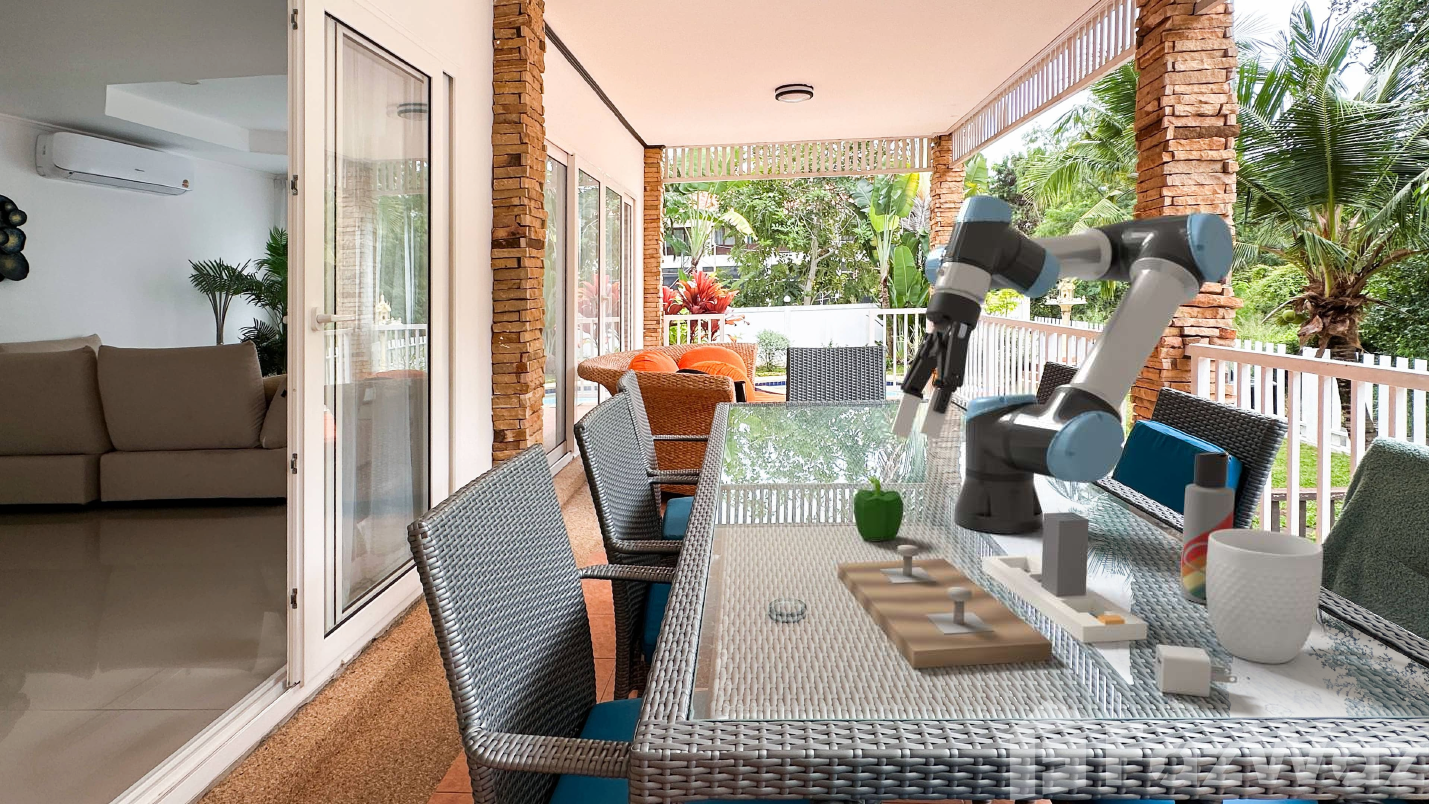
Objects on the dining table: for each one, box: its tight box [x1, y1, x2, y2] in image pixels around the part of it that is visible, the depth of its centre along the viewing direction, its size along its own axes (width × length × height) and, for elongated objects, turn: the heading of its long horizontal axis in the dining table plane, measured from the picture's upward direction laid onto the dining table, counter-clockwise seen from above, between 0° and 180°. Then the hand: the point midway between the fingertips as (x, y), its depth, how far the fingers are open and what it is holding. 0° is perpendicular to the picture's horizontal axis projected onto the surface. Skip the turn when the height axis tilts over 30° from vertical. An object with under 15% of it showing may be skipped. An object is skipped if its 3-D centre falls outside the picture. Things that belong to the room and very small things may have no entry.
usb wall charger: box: [1154, 644, 1238, 698], centre depth 90 cm, size 4×7×4 cm, turn 73°
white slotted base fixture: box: [981, 511, 1148, 644], centre depth 116 cm, size 28×8×12 cm, turn 7°
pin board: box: [837, 544, 1053, 669], centre depth 112 cm, size 32×16×6 cm, turn 7°
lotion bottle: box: [1179, 451, 1236, 605], centre depth 116 cm, size 6×6×20 cm
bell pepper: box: [853, 477, 904, 542], centre depth 147 cm, size 8×8×10 cm
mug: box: [1206, 528, 1324, 665], centre depth 99 cm, size 15×11×13 cm
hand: (913, 435), depth 127 cm, fingers open, 13 cm apart
